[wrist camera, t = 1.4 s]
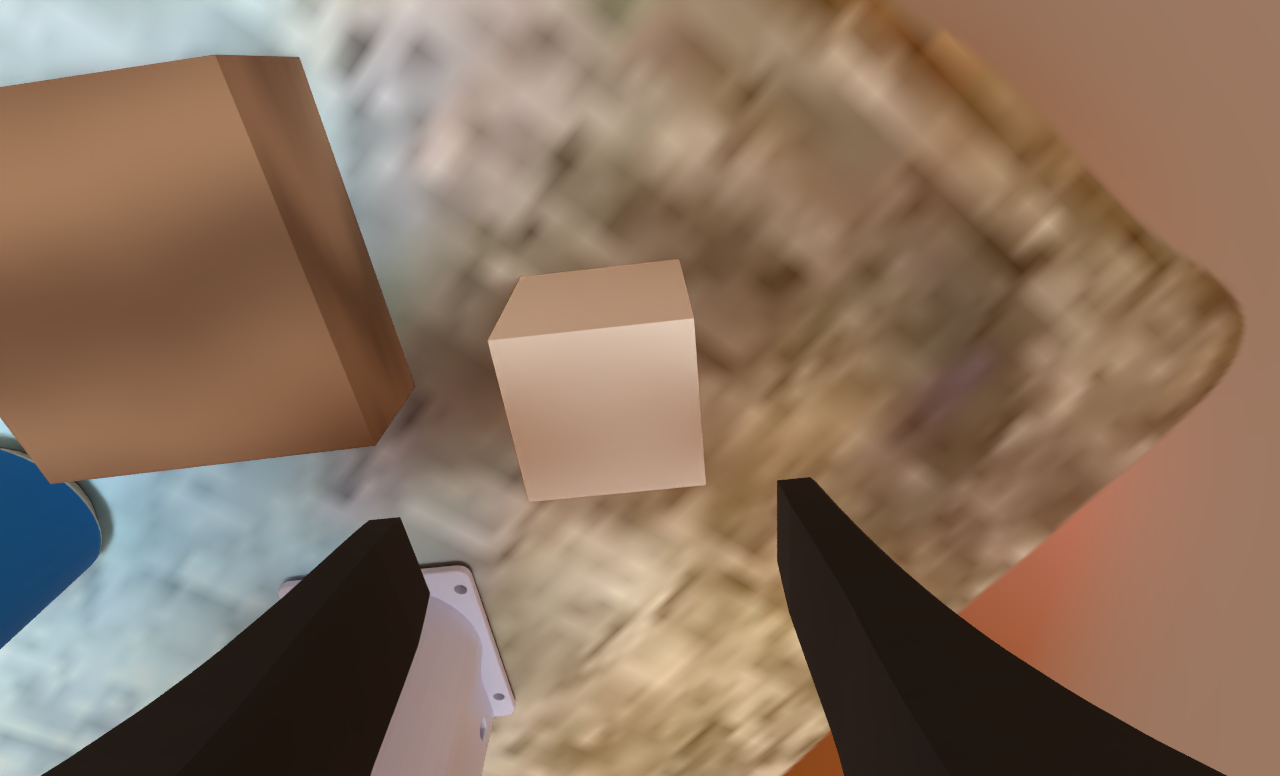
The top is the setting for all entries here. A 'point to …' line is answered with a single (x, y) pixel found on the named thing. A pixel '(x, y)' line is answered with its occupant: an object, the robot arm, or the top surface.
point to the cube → (601, 381)
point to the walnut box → (184, 274)
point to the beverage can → (39, 540)
